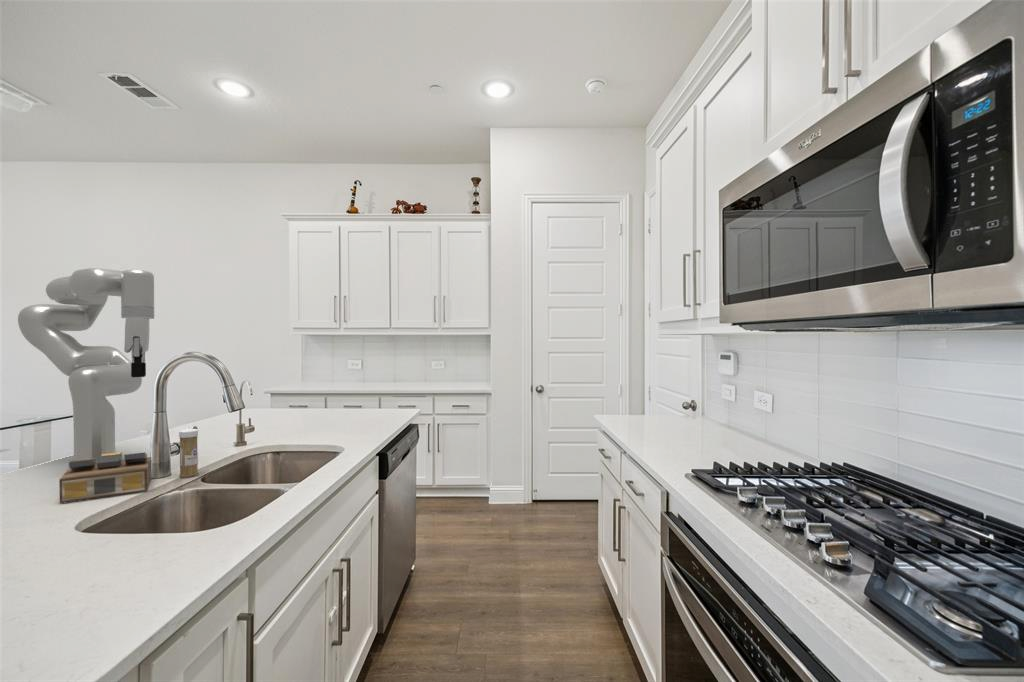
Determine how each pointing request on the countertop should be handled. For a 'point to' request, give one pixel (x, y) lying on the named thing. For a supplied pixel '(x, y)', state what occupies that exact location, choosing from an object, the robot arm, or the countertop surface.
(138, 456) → the rocker
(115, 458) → the rocker
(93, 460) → the rocker
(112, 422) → the robot arm
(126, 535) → the countertop surface
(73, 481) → the switch unit
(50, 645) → the countertop surface
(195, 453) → the sprinkles bottle
